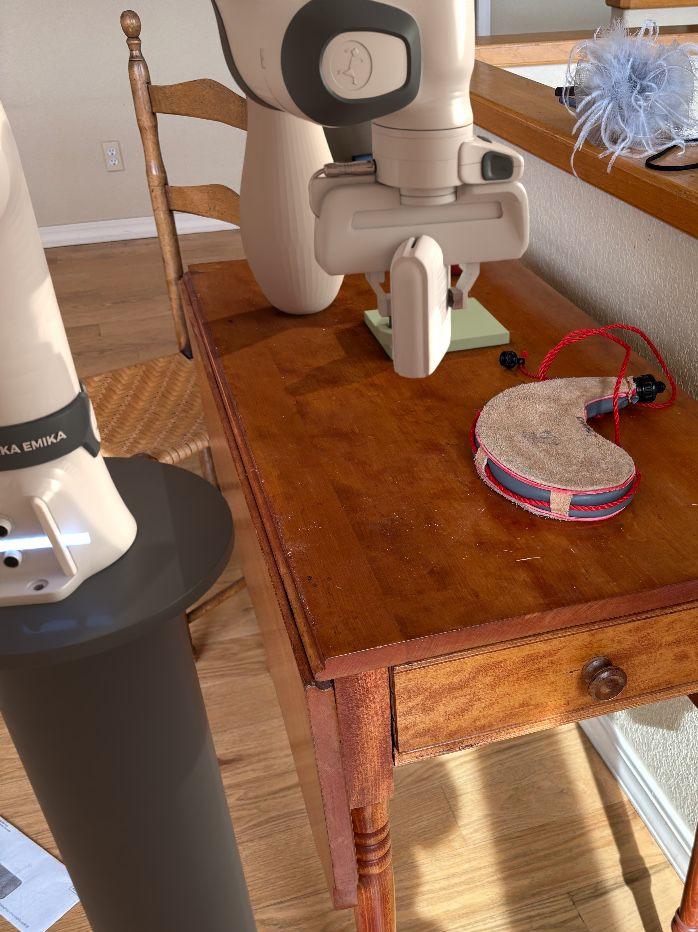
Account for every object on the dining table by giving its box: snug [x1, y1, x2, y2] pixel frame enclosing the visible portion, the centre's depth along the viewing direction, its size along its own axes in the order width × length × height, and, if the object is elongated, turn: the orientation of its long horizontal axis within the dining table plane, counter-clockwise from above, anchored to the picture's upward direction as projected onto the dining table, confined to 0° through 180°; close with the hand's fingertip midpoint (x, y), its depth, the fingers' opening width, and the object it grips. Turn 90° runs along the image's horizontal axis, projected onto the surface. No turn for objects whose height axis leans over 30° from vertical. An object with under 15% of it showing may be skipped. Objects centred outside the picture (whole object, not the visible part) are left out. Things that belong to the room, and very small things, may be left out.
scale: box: [363, 297, 510, 361], centre depth 116 cm, size 16×13×3 cm
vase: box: [238, 95, 345, 316], centre depth 115 cm, size 14×14×30 cm
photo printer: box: [389, 235, 451, 379], centre depth 89 cm, size 10×4×12 cm, turn 167°
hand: (423, 311), depth 90 cm, fingers closed on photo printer, 6 cm apart
